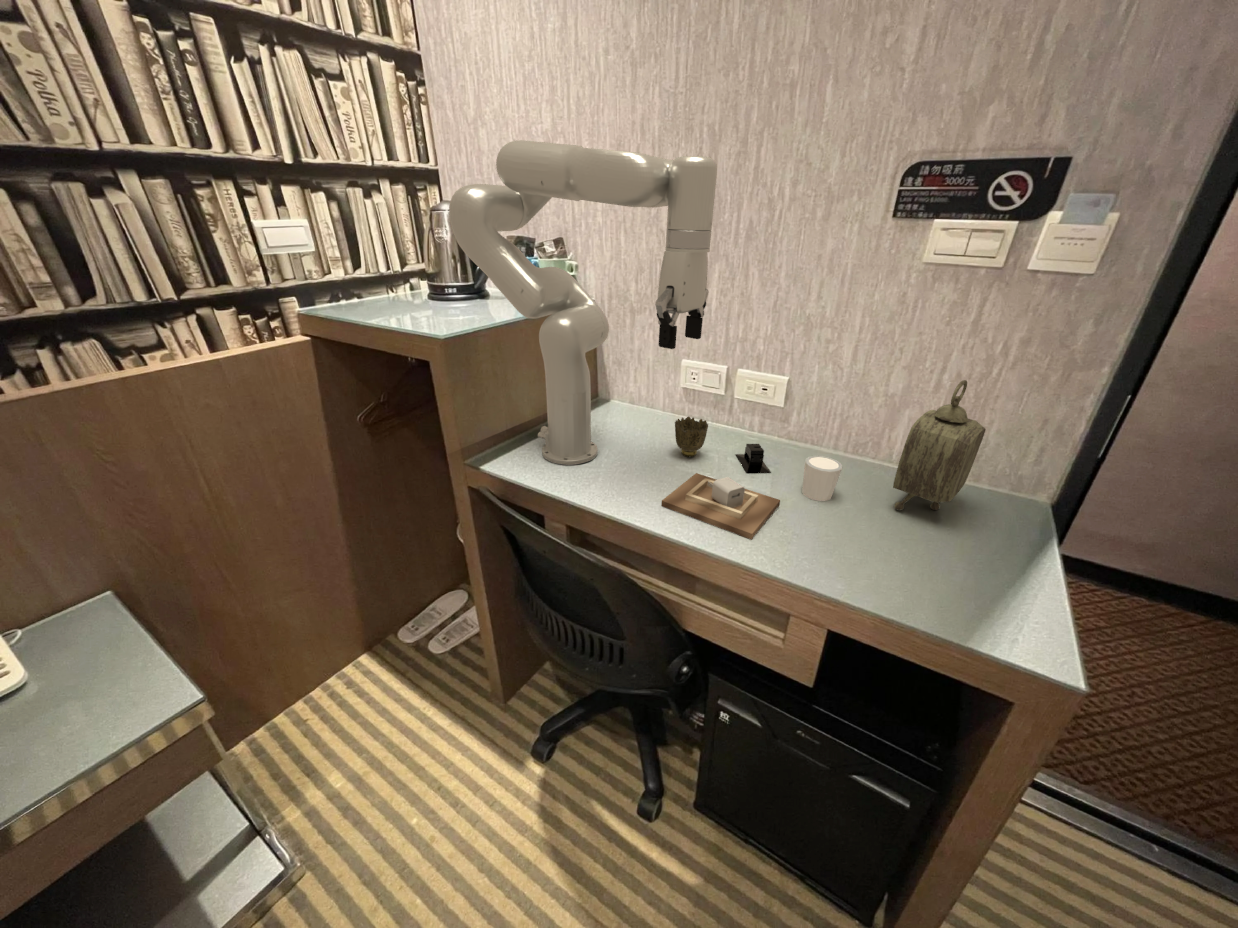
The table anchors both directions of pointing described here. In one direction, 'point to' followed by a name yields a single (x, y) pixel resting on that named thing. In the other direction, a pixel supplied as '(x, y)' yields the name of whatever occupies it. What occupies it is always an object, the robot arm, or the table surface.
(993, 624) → the table surface
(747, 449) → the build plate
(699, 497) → the jig board
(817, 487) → the beige short cylinder
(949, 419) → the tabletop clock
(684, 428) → the cup
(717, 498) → the usb wall charger
